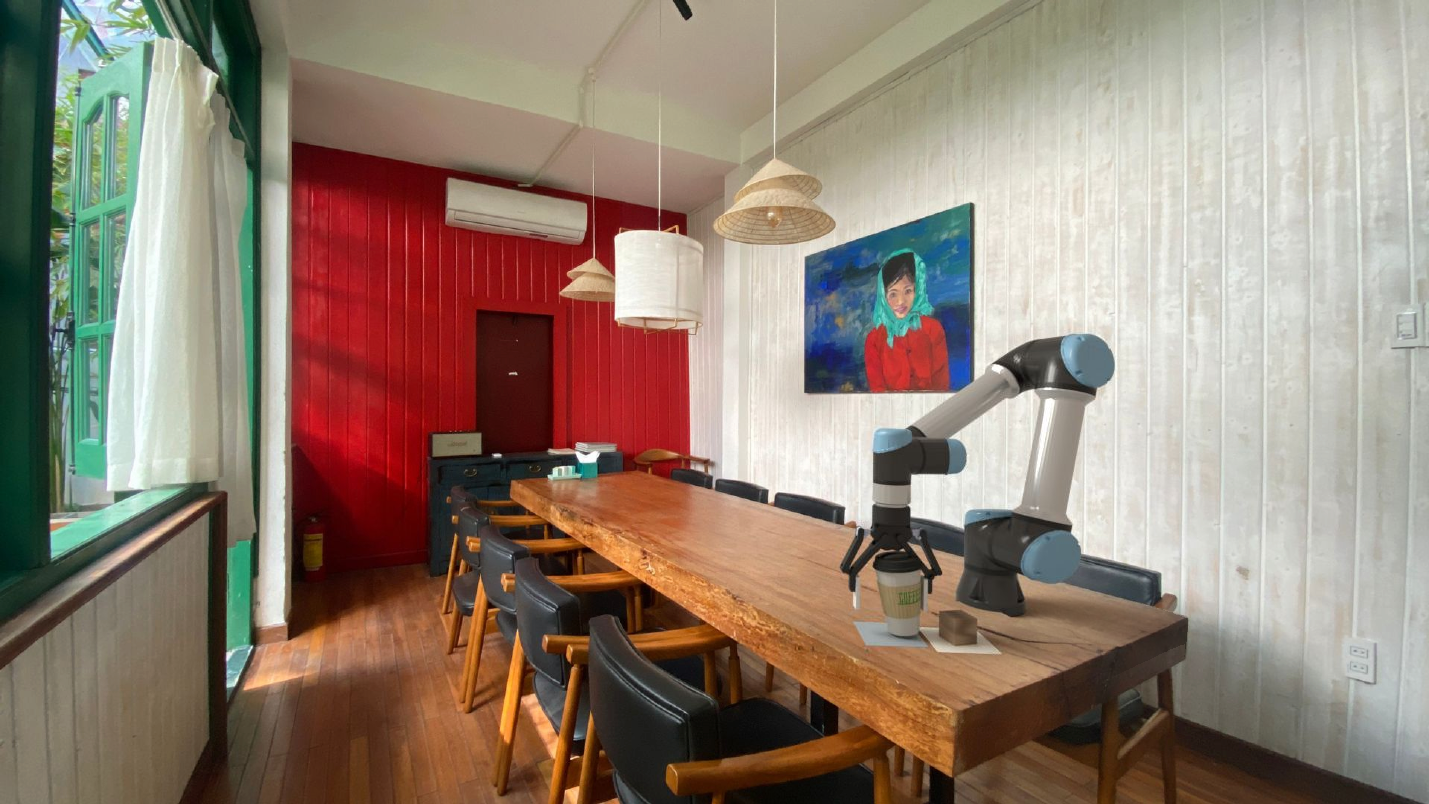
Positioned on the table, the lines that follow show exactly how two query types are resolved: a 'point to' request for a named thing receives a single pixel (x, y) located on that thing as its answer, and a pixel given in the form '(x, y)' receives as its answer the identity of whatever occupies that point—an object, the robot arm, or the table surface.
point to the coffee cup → (899, 591)
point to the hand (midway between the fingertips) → (889, 608)
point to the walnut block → (958, 627)
